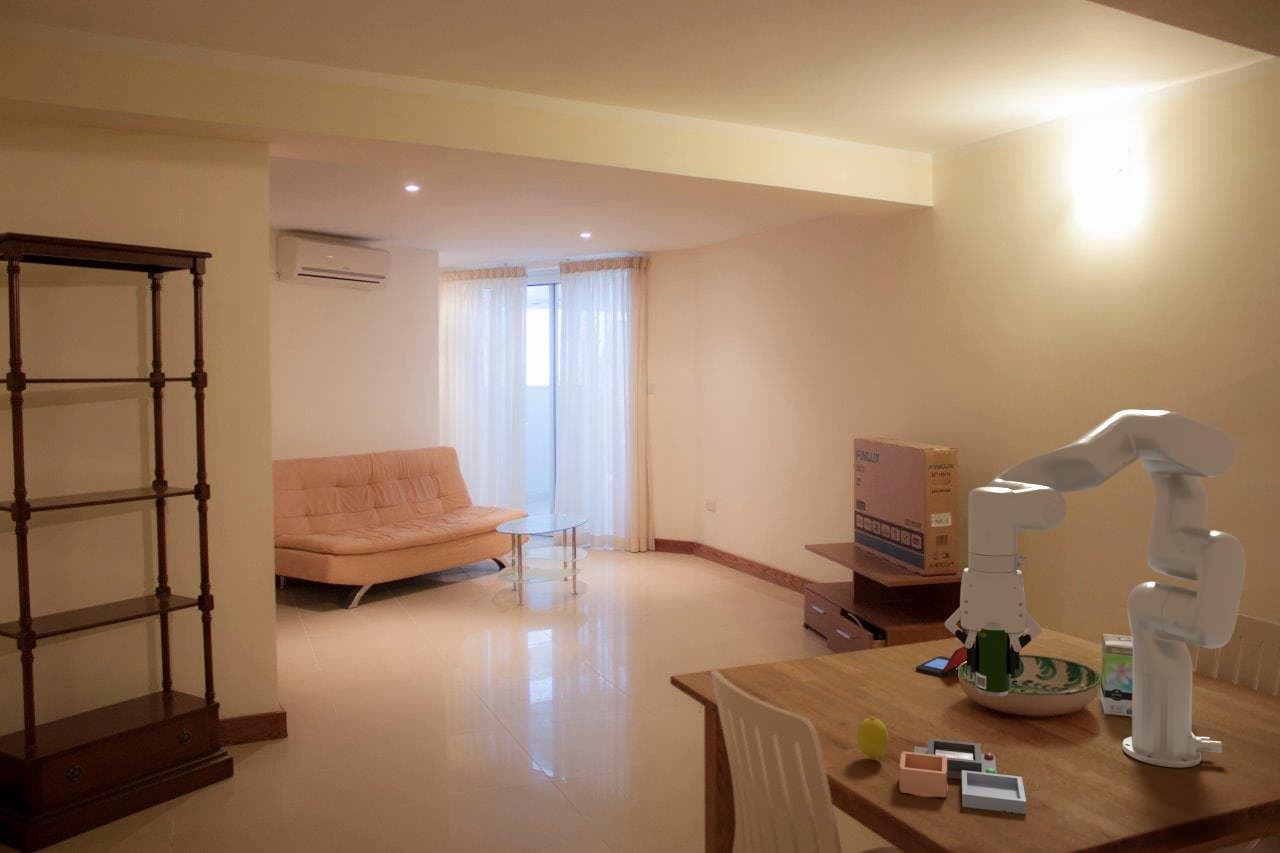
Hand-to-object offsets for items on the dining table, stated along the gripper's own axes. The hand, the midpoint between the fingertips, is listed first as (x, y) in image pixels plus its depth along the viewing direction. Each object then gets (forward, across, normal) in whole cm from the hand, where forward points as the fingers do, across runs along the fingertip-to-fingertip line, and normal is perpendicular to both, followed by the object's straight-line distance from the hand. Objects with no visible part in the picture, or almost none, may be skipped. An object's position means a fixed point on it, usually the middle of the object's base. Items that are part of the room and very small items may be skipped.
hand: (992, 670), depth 154 cm
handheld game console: (+22, +8, -68) cm, 72 cm away
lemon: (+21, +20, -10) cm, 31 cm away
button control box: (+21, +6, -11) cm, 25 cm away
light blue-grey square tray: (+21, 0, 0) cm, 21 cm away
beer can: (+4, 0, 0) cm, 4 cm away
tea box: (+22, -31, -50) cm, 62 cm away
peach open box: (+21, +11, -1) cm, 24 cm away
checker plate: (+20, +6, -11) cm, 24 cm away
